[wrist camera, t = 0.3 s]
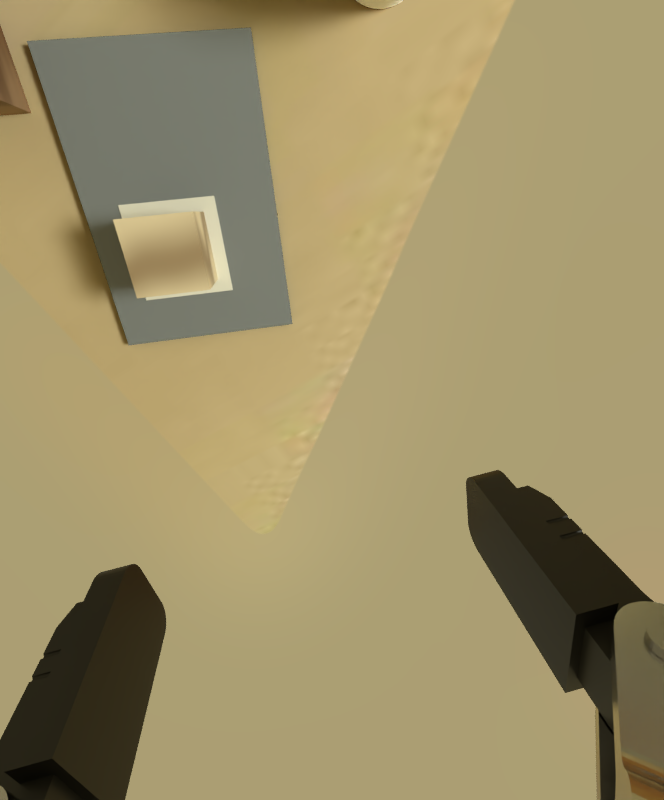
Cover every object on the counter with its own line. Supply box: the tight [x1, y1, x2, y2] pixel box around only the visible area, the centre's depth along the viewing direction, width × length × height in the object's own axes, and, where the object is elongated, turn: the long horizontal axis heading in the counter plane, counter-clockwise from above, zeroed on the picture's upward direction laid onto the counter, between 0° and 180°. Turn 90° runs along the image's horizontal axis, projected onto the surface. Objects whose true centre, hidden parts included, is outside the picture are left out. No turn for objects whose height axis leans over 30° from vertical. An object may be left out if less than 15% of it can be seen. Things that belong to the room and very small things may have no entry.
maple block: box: [113, 211, 218, 298], centre depth 29 cm, size 5×5×5 cm
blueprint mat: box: [27, 28, 292, 345], centre depth 30 cm, size 20×14×1 cm
